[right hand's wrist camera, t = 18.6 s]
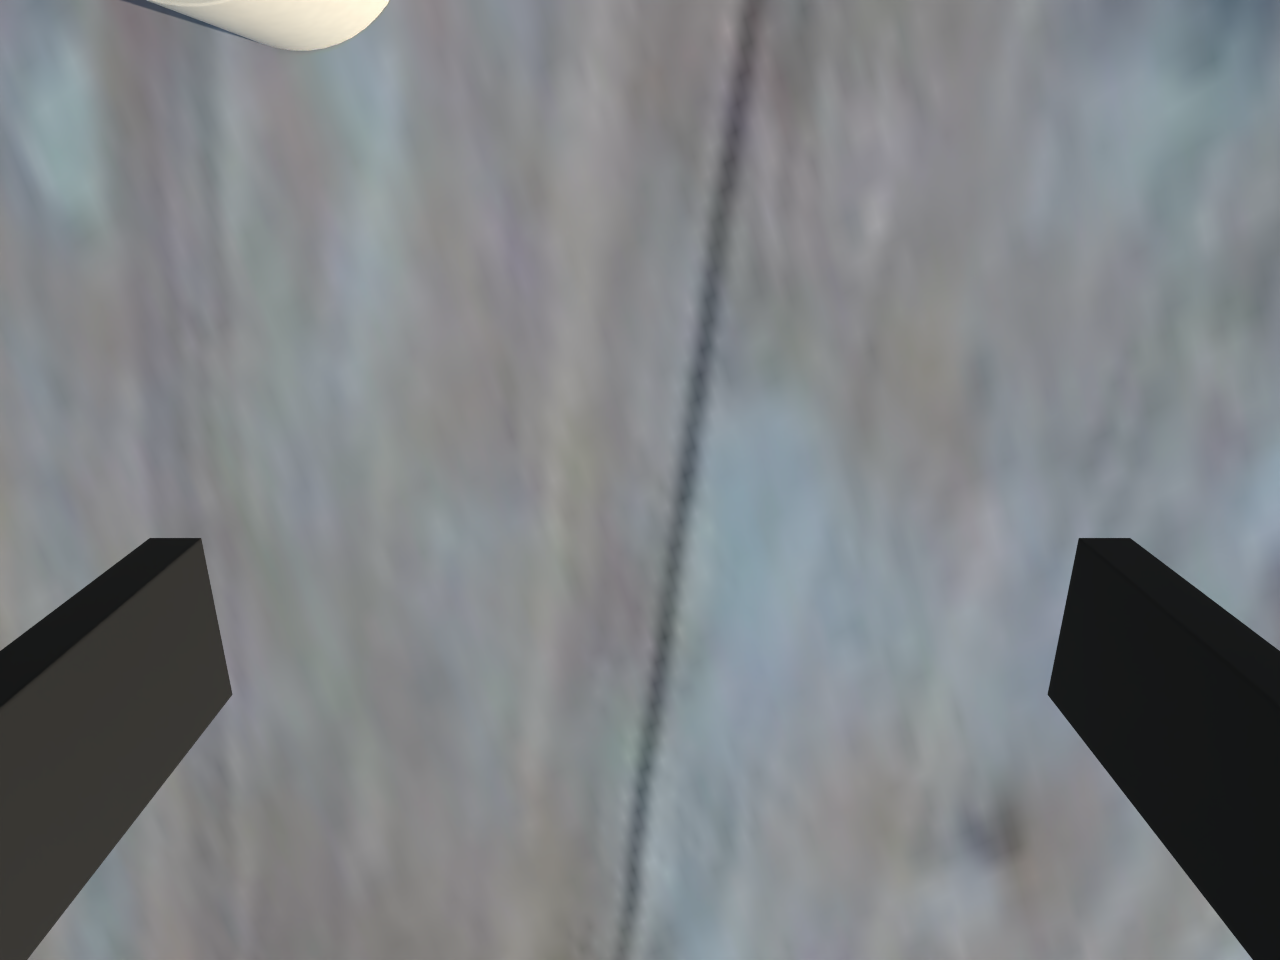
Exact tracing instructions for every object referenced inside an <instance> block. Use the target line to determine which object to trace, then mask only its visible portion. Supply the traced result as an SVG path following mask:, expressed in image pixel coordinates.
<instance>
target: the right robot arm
mask: <svg viewBox="0 0 1280 960" xmlns="http://www.w3.org/2000/svg"><path fill="white" fill-rule="evenodd" d="M231 696H232V690H231V685H230V680H229V675H228V670H227V665H226V660H225V655H224V650H223V645H222V640H221V635H220V630H219V625H218V620H217V615H216V610H215V605H214V600H213V595H212V590H211V585H210V580H209V575H208V570H207V565H206V560H205V555H204V550H203V545H202V540H201V538H149V539H148V540H147V541H145V542H144V543H143V544H141V545H140V546H139V547H138V548H136V549H135V550H134V551H132V552H131V553H130V554H128V555H127V556H126V557H124V558H123V559H122V560H120V561H119V562H118V563H116V564H115V565H114V566H112V567H111V568H110V569H108V570H107V571H106V572H104V573H103V574H102V575H100V576H99V577H98V578H96V579H95V580H94V581H92V582H91V583H90V584H89V585H87V586H86V587H85V588H83V589H82V590H81V591H79V592H78V593H77V594H75V595H74V596H73V597H71V598H70V599H69V600H67V601H66V602H65V603H63V604H62V605H61V606H59V607H58V608H57V609H55V610H54V611H53V612H51V613H50V614H49V615H47V616H46V617H45V618H43V619H42V620H41V621H40V622H38V623H37V624H36V625H34V626H33V627H32V628H30V629H29V630H28V631H26V632H25V633H24V634H22V635H21V636H20V637H18V638H17V639H16V640H14V641H13V642H12V643H10V644H9V645H8V646H6V647H5V648H4V649H2V650H1V651H0V960H27V959H28V958H29V957H30V955H31V954H32V953H33V951H34V950H35V949H36V947H37V946H38V945H39V944H40V942H41V941H42V940H43V938H44V937H45V936H46V935H47V933H48V932H49V931H50V929H51V928H52V927H53V926H54V924H55V923H56V922H57V920H58V919H59V918H60V916H61V915H62V914H63V913H64V911H65V910H66V909H67V907H68V906H69V905H70V904H71V902H72V901H73V900H74V898H75V897H76V896H77V895H78V893H79V892H80V891H81V889H82V888H83V887H84V885H85V884H86V883H87V882H88V880H89V879H90V878H91V876H92V875H93V874H94V873H95V871H96V870H97V869H98V867H99V866H100V865H101V864H102V862H103V861H104V860H105V858H106V857H107V856H108V854H109V853H110V852H111V851H112V849H113V848H114V847H115V845H116V844H117V843H118V842H119V840H120V839H121V838H122V836H123V835H124V834H125V833H126V831H127V830H128V829H129V827H130V826H131V825H132V823H133V822H134V821H135V820H136V818H137V817H138V816H139V814H140V813H141V812H142V811H143V809H144V808H145V807H146V805H147V804H148V803H149V802H150V800H151V799H152V798H153V796H154V795H155V794H156V792H157V791H158V790H159V789H160V787H161V786H162V785H163V783H164V782H165V781H166V780H167V778H168V777H169V776H170V774H171V773H172V772H173V771H174V769H175V768H176V767H177V765H178V764H179V763H180V761H181V760H182V759H183V758H184V756H185V755H186V754H187V752H188V751H189V750H190V749H191V747H192V746H193V745H194V743H195V742H196V741H197V740H198V738H199V737H200V736H201V734H202V733H203V732H204V730H205V729H206V728H207V727H208V725H209V724H210V723H211V721H212V720H213V719H214V718H215V716H216V715H217V714H218V712H219V711H220V710H221V709H222V707H223V706H224V705H225V703H226V702H227V701H228V699H229V698H230V697H231ZM1048 696H1049V697H1050V698H1051V700H1052V701H1053V702H1054V703H1055V705H1056V706H1057V707H1058V709H1059V710H1060V711H1061V712H1062V714H1063V715H1064V716H1065V718H1066V719H1067V720H1068V721H1069V723H1070V724H1071V725H1072V727H1073V728H1074V729H1075V731H1076V732H1077V733H1078V734H1079V736H1080V737H1081V738H1082V740H1083V741H1084V742H1085V743H1086V745H1087V746H1088V747H1089V749H1090V750H1091V751H1092V752H1093V754H1094V755H1095V756H1096V758H1097V759H1098V760H1099V761H1100V763H1101V764H1102V765H1103V767H1104V768H1105V769H1106V771H1107V772H1108V773H1109V774H1110V776H1111V777H1112V778H1113V780H1114V781H1115V782H1116V783H1117V785H1118V786H1119V787H1120V789H1121V790H1122V791H1123V792H1124V794H1125V795H1126V796H1127V798H1128V799H1129V800H1130V802H1131V803H1132V804H1133V805H1134V807H1135V808H1136V809H1137V811H1138V812H1139V813H1140V814H1141V816H1142V817H1143V818H1144V820H1145V821H1146V822H1147V823H1148V825H1149V826H1150V827H1151V829H1152V830H1153V831H1154V833H1155V834H1156V835H1157V836H1158V838H1159V839H1160V840H1161V842H1162V843H1163V844H1164V845H1165V847H1166V848H1167V849H1168V851H1169V852H1170V853H1171V854H1172V856H1173V857H1174V858H1175V860H1176V861H1177V862H1178V864H1179V865H1180V866H1181V867H1182V869H1183V870H1184V871H1185V873H1186V874H1187V875H1188V876H1189V878H1190V879H1191V880H1192V882H1193V883H1194V884H1195V885H1196V887H1197V888H1198V889H1199V891H1200V892H1201V893H1202V895H1203V896H1204V897H1205V898H1206V900H1207V901H1208V902H1209V904H1210V905H1211V906H1212V907H1213V909H1214V910H1215V911H1216V913H1217V914H1218V915H1219V916H1220V918H1221V919H1222V920H1223V922H1224V923H1225V924H1226V926H1227V927H1228V928H1229V929H1230V931H1231V932H1232V933H1233V935H1234V936H1235V937H1236V938H1237V940H1238V941H1239V942H1240V944H1241V945H1242V946H1243V947H1244V949H1245V950H1246V951H1247V953H1248V954H1249V955H1250V957H1251V958H1252V959H1253V960H1280V651H1279V650H1278V649H1276V648H1275V647H1274V646H1272V645H1271V644H1270V643H1268V642H1267V641H1266V640H1264V639H1263V638H1262V637H1260V636H1259V635H1258V634H1256V633H1255V632H1254V631H1252V630H1251V629H1250V628H1248V627H1247V626H1246V625H1244V624H1243V623H1242V622H1240V621H1239V620H1238V619H1236V618H1235V617H1234V616H1233V615H1231V614H1230V613H1229V612H1227V611H1226V610H1225V609H1223V608H1222V607H1221V606H1219V605H1218V604H1217V603H1215V602H1214V601H1213V600H1211V599H1210V598H1209V597H1207V596H1206V595H1205V594H1203V593H1202V592H1201V591H1199V590H1198V589H1197V588H1195V587H1194V586H1193V585H1191V584H1190V583H1189V582H1188V581H1186V580H1185V579H1184V578H1182V577H1181V576H1180V575H1178V574H1177V573H1176V572H1174V571H1173V570H1172V569H1170V568H1169V567H1168V566H1166V565H1165V564H1164V563H1162V562H1161V561H1160V560H1158V559H1157V558H1156V557H1154V556H1153V555H1152V554H1150V553H1149V552H1148V551H1146V550H1145V549H1144V548H1142V547H1141V546H1140V545H1139V544H1137V543H1136V542H1135V541H1133V540H1132V539H1131V538H1079V540H1078V545H1077V550H1076V555H1075V560H1074V565H1073V570H1072V575H1071V580H1070V585H1069V590H1068V595H1067V600H1066V605H1065V610H1064V615H1063V620H1062V625H1061V630H1060V635H1059V640H1058V645H1057V650H1056V655H1055V660H1054V665H1053V670H1052V675H1051V680H1050V685H1049V690H1048Z"/></svg>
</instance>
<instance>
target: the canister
mask: <svg viewBox="0 0 1280 960" xmlns="http://www.w3.org/2000/svg"><path fill="white" fill-rule="evenodd" d="M147 1H149V2H152V3H155V4H157V5H160V6H163V7H165V8H168V9H171V10H173V11H176V12H179V13H181V14H184V15H187V16H189V17H192V18H195V19H197V20H200V21H203V22H205V23H208V24H211V25H213V26H216V27H219V28H221V29H224V30H227V31H229V32H232V33H235V34H237V35H240V36H243V37H245V38H248V39H251V40H253V41H256V42H259V43H261V44H265V45H268V46H272V47H275V48H279V49H286V50H294V51H300V50H316V49H322V48H327V47H330V46H333V45H336V44H339V43H341V42H343V41H345V40H347V39H349V38H351V37H353V36H355V35H356V34H358V33H359V32H360V31H362V30H363V29H365V28H366V27H367V26H368V25H369V24H370V23H371V22H372V21H373V20H374V19H375V18H377V16H378V15H379V14H380V13H381V11H382V10H383V9H384V7H385V6H386V5H387V3H388V2H389V0H147Z"/></svg>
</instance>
